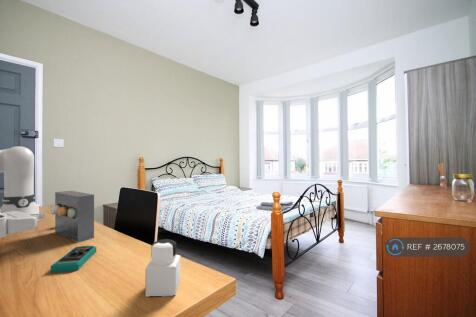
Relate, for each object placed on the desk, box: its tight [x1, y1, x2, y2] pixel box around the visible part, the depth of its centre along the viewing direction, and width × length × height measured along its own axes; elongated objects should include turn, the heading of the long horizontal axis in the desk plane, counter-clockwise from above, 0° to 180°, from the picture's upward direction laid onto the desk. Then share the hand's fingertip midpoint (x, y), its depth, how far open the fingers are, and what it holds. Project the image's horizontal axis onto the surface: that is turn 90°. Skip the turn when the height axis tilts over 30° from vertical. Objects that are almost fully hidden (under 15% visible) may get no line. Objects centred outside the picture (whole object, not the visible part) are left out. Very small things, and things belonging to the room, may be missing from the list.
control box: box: [54, 190, 95, 243], centre depth 100 cm, size 22×6×18 cm, turn 57°
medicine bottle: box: [144, 238, 181, 297], centre depth 59 cm, size 7×7×12 cm
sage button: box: [67, 208, 75, 218], centre depth 94 cm, size 4×2×4 cm, turn 57°
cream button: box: [50, 204, 61, 215], centre depth 100 cm, size 4×2×4 cm, turn 57°
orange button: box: [57, 207, 68, 216], centre depth 97 cm, size 4×2×4 cm, turn 57°
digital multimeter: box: [50, 245, 97, 274], centre depth 75 cm, size 7×15×3 cm, turn 12°
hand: (43, 215), depth 89 cm, fingers closed
